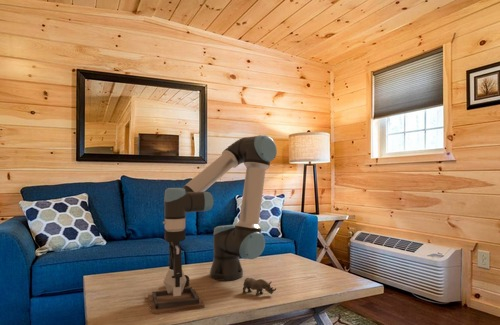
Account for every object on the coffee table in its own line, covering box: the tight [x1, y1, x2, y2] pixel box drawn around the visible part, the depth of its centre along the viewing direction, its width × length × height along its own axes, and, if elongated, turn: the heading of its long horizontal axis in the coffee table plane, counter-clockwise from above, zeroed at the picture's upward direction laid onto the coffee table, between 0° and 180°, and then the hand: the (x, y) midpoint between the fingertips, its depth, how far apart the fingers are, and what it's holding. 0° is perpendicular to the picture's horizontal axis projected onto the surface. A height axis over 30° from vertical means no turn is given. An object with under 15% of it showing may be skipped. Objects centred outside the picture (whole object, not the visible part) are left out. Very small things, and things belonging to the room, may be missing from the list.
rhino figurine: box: [241, 277, 277, 296], centre depth 137 cm, size 4×14×6 cm, turn 67°
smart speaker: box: [184, 274, 190, 288], centre depth 147 cm, size 9×9×4 cm
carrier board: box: [147, 286, 205, 315], centre depth 129 cm, size 18×18×2 cm
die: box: [163, 269, 186, 294], centre depth 129 cm, size 8×9×10 cm
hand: (175, 291), depth 129 cm, fingers closed on die, 9 cm apart
